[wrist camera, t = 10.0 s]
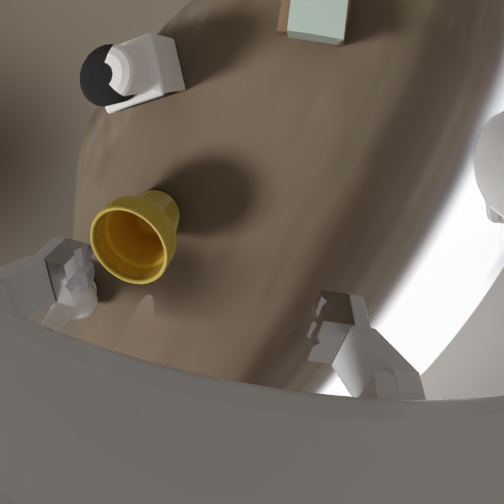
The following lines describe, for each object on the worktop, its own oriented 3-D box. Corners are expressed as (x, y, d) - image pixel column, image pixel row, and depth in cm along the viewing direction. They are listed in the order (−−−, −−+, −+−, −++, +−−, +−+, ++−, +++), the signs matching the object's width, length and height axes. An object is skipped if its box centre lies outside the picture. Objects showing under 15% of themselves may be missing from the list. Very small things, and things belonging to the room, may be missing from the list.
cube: (341, 4, 24) (348, -8, 20) (336, 45, 27) (343, 39, 22) (292, -4, 24) (292, -17, 20) (287, 37, 27) (287, 30, 23)
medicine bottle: (135, 106, 35) (80, 123, 25) (123, 56, 32) (64, 57, 21) (186, 90, 34) (143, 99, 23) (174, 37, 30) (126, 26, 20)
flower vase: (51, 228, 46) (-46, 322, 25) (133, 293, 51) (63, 414, 30) (37, 272, 52) (-37, 359, 31) (108, 328, 57) (51, 431, 36)
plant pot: (134, 246, 46) (104, 284, 38) (117, 181, 41) (78, 210, 32) (198, 244, 44) (176, 286, 36) (185, 173, 39) (156, 202, 31)
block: (348, -6, 25) (352, -12, 23) (339, 46, 29) (343, 44, 26) (286, -18, 25) (286, -25, 23) (277, 34, 29) (276, 30, 27)
